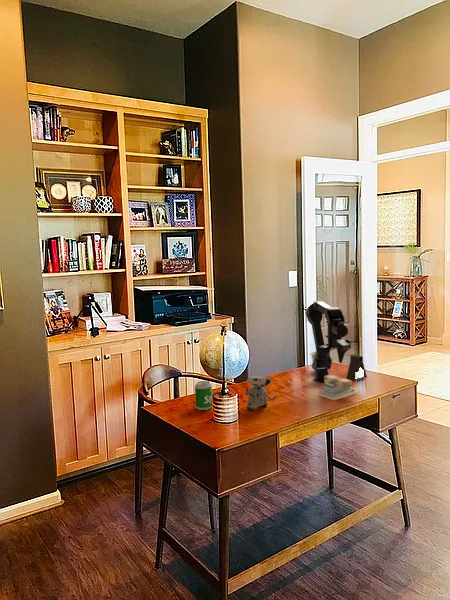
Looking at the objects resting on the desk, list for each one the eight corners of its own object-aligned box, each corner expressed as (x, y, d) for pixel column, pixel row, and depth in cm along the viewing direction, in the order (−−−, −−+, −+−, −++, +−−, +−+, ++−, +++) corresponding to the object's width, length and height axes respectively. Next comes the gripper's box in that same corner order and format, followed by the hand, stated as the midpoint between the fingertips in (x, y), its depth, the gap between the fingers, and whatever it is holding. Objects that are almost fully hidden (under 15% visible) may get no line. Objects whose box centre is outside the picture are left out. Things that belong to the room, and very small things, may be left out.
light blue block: (342, 388, 241) (342, 378, 241) (349, 391, 237) (349, 381, 237) (324, 393, 235) (324, 383, 234) (332, 396, 231) (331, 385, 230)
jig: (333, 400, 228) (333, 395, 228) (318, 395, 236) (318, 390, 236) (356, 393, 236) (356, 388, 236) (340, 389, 244) (340, 384, 244)
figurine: (262, 415, 212) (261, 381, 211) (244, 409, 221) (243, 376, 219) (276, 409, 218) (276, 377, 216) (258, 404, 227) (257, 372, 225)
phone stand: (358, 374, 268) (357, 353, 267) (366, 377, 263) (366, 355, 262) (346, 377, 264) (346, 355, 262) (355, 380, 259) (355, 357, 257)
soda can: (200, 412, 219) (198, 386, 217) (193, 407, 225) (192, 382, 224) (215, 409, 222) (214, 383, 220) (208, 404, 229) (207, 379, 227)
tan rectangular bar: (324, 382, 240) (324, 376, 240) (330, 380, 242) (330, 374, 242) (345, 388, 228) (345, 382, 228) (351, 387, 231) (351, 380, 230)
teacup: (323, 376, 268) (323, 358, 267) (306, 370, 281) (305, 353, 280) (340, 372, 274) (340, 354, 273) (322, 367, 287) (322, 350, 286)
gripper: (331, 338, 229) (332, 371, 231) (359, 333, 240) (359, 364, 241) (315, 335, 239) (315, 366, 241) (342, 330, 249) (342, 360, 251)
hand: (333, 364), depth 243 cm, fingers open, 9 cm apart
